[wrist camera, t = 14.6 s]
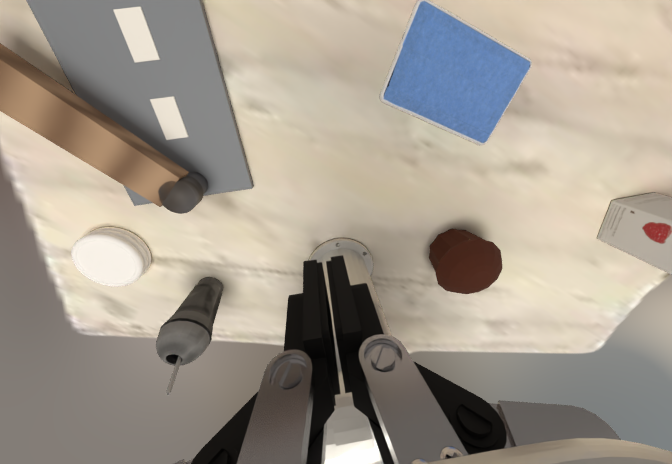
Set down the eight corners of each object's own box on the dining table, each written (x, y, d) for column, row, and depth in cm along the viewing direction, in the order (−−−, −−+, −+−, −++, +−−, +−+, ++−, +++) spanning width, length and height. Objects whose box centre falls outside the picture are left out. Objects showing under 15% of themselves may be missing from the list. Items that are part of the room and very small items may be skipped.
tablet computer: (376, 100, 38) (378, 100, 36) (416, -4, 33) (421, -8, 31) (480, 146, 42) (485, 147, 41) (529, 61, 37) (536, 60, 36)
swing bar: (210, 187, 36) (203, 194, 33) (192, 212, 37) (183, 221, 34) (-29, 23, 26) (-67, 14, 23) (-42, 66, 27) (-80, 63, 24)
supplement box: (610, 199, 49) (722, 235, 36) (654, 191, 50) (781, 224, 36) (594, 239, 54) (689, 285, 40) (635, 232, 54) (743, 275, 41)
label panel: (253, 186, 41) (248, 194, 37) (138, 202, 40) (121, 213, 36) (191, -37, 29) (174, -57, 25) (25, -19, 28) (-18, -37, 24)
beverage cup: (191, 267, 46) (122, 370, 29) (233, 275, 48) (191, 377, 30) (188, 297, 49) (123, 408, 32) (227, 304, 51) (186, 412, 33)
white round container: (112, 281, 46) (98, 294, 43) (71, 235, 42) (52, 246, 38) (164, 266, 46) (154, 278, 43) (129, 218, 41) (115, 228, 38)
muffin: (482, 218, 48) (522, 244, 39) (475, 265, 53) (509, 298, 45) (421, 228, 48) (447, 257, 39) (420, 275, 53) (443, 310, 44)
